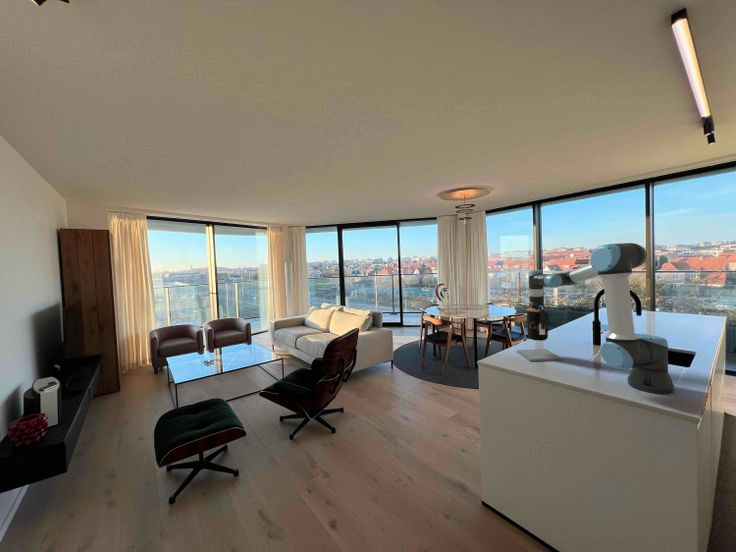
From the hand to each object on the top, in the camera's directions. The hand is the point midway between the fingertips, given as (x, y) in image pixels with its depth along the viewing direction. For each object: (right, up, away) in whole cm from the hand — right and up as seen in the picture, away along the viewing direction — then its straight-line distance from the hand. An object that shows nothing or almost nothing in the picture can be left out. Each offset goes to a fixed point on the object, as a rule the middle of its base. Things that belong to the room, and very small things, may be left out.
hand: (537, 332), depth 181 cm
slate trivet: (+1, -15, +1) cm, 15 cm away
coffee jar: (0, -4, 0) cm, 4 cm away
